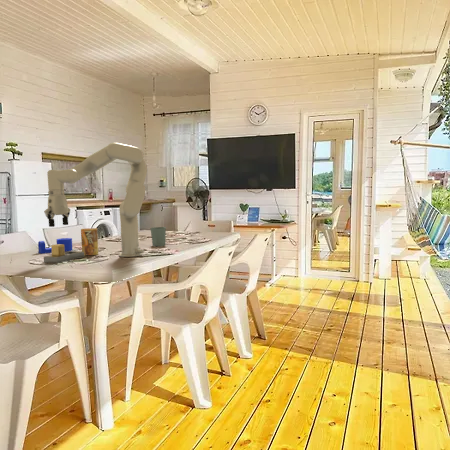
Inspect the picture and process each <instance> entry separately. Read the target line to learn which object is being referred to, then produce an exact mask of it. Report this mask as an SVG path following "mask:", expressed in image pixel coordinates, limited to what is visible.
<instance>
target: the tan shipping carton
mask: <svg viewBox="0 0 450 450" xmlns="http://www.w3.org/2000/svg"><path fill="white" fill-rule="evenodd" d="M50 248H52V253H51V255H52V256H63V255H65V248H64V244H57V243H56V244H52V245H51V246H50Z"/></svg>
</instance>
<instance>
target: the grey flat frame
mask: <svg viewBox="0 0 450 450" xmlns="http://www.w3.org/2000/svg"><path fill="white" fill-rule="evenodd" d="M82 258H85V255H84V252H82V251H78V250H77V251H76V250H75V251H74V250H72V251H66V252H65V255H63V256H52V254H51V255H45V256H43V263H50V264H51V263H53V264H60V263H63V262H69V261H72V260H77V259H82Z"/></svg>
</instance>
